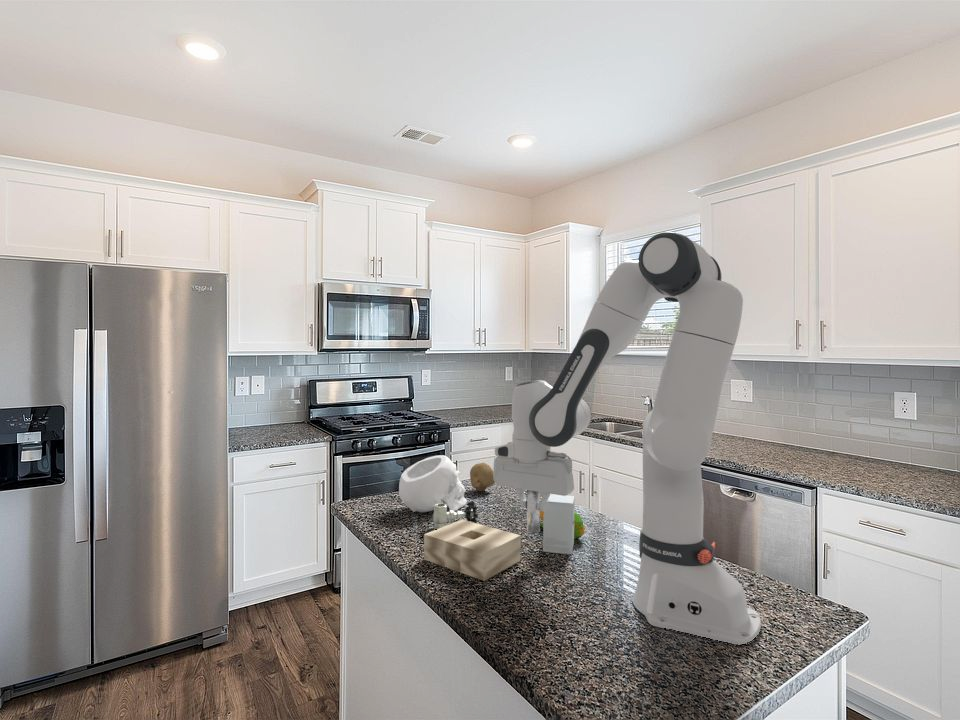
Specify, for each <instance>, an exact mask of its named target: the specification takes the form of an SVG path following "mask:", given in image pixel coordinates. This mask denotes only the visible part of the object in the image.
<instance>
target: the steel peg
mask: <svg viewBox="0 0 960 720" xmlns="http://www.w3.org/2000/svg"><path fill="white" fill-rule="evenodd" d="M526 498H527V508H526V532H527V533H529V534H539V533H540V532H541V525H540V522H541V518H540V511H538V510H537V506H536V503H538V502H540V501H541V499H540V498H541V496H540V492H537V491H531V490H526Z"/></svg>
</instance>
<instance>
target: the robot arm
mask: <svg viewBox="0 0 960 720" xmlns="http://www.w3.org/2000/svg"><path fill="white" fill-rule="evenodd" d="M661 299H664V300H665V301H666V302H672V303H673V302H675V303H678V305H679V313H678V317H677V321H676V323H675V327H674V329H673V334H672V337H671V340H670V344H669V346H668V349H667V353H666V356H665V359H664V363H663V365H662V366H663V367H662V370H661V374H660V377H659V382H658V387H657V392H656V394H655V395H656V396H655V399H654V403H653V408H652V409H651V410H650V411H649V412H648V414H647V415H646V417H645V418H644V420H643V424H642V526H641V527H642V529H640V531H639V540H638V541H639V543H638V544H639V545H638V551H639V558H640V565H639V571H638V578H637V583H636V587H635V590H634V593H633V597H632V603H633V605H634V607H635V608H636V610H638V611H639V612H640V613H641V614H642V615H644V617H645V619H646V620H647V621H646V622H648V623H649V624H650V625H651V626H653V627H656V628H661V629H664V628H666V630H669V629H673V630H678V631H681V632H686V633H690V634H694V635H697V636H696V637H698V636H701V637H700V638H702V637H706V638H710V639H713V640H712V641H715V640H718V641H717V642H719V641H724V642H728V643H732V644H738V645H740V644H744V643H747V642H750V641H752V640H753V639H754V638H755V637H756V636H757V635H758V636H759V634H760V633H761V632H760V631H761V630H760V629H762V624H761V617H760V615H759V614H758V612H757V611H756V610H754V609H752V608H749V607H748V603H747V602H748V601H747V597H746V596H747V595H746V593H745V589H744V588H743V586H742V584H741V583H740V582H739V581H738V580H737V579H736V578H734V577H733V576H732V575H731V574H730V573H729V572H728V571H727V570H726V569H724V568H723V567H722V566H721V565H720V564H719V563H718V562H717V561H716V560H714V558H715V550H716V542H715V541H713V542H712V543H710V542H709V541H708V540H707V539H706V538H705V537H704V506H705V505H704V504H705V503H704V500H705V499H704V490H703V478H702V463H703V462H704V461H705V459H707V456H708V453H709V451H710V446H711V443H712V437H713V433H714V428H715V424H716V420H717V415H718V411H719V406H720V400H721V399H720V398H721V394H722V393H721V392H722V390H723V389H722V388H723V384H724V382H725V378H726V374H727V371H728V368H729V365H730V363H731V359H732V355H733V352H734V349H735V346H736V342H737V338H738V335H739V330H740V326H741V322H742V321H741V320H742V314H743V306H744V305H743V303H744V299H743V295H742V292H741V291H740V290H739V289H738V288H737V287H735V286H734V285H733V284H731V283H728V282H727V281H722V272H721V268H720V266H719V264H718V261H717V260H716V259H715V258H714V257H713V256H711V255H710V254H709V253H708V252H707V251H706V249H705V248H704V247H703V246H702V245H700V244H699V243H697V242H695V241H694V240H692V239H690V238H689V237H688V236H687V235H684V234H682V233H679V232H674V231H664V232H660V233H657V234H655V235H654V236H652V237H650V238H649V239H648V240H647V241H646V242H645V243H644V244H643V246H642V248H640V251H639V255H638V260H633V259H632V260H631V259H630V260H625V261H623V262H620V263H619V265H617V267H616V268H615V269H614V271H613V272H612V273H611V275H610V276H609V278H608V279H607V280H606V282H605V284H604V285H603V287H602V289H601V290H600V292H599V294H598V295H597V298H596V301H595V302H594V304H593V306H592V308H591V311H590V312H589V315H588V317H587V319H586V322H585V325H584V327H583V329H582V331H581V333H580V336H579V337H578V340H577V342H576V345H575V347H574V348H573V349H572V352H571V354H570V355H569V357H568V359H567V361H566V363H564V367H562V369H561V372H560V374H559V375H558V376H557V378H556V381H555V382H554V384H553V386H552V385H551V384H549V383H548V382H547V381H546V380H543V379H536V380H530V381H526V382H525V381H524V382H520V383H518V384H517V385H516V386H515V387H514V389H513V392H512V397H511V398H512V400H511V421H512V424H513V432H512V436H511V438H512V439H511V440H512V441H509V442H507V443H505V444H501V445H498V446H497V447H495V448H494V455H495V458H494V460H493V466H492V467H493V469H492V470H493V478H494V481H495V483H494V484H496V485H497V486H501V487H505V488H514V489H515V493H516V496H517V497H518V499H519V501H520V502H519V503H520V504H519V505H520V508H523V509H527V495H526V493H525V492H527V490H531V491H537V492H540V498H541V499H540V502H538V503H536V506H537V510H538V511H545V509H546V502H547V500H548V498H549V496H550V494H553V495H562V496H566V495H568V496H569V495H570V494H572V493H573V492H574V490H575V483H574V475H573V474H574V473H573V460H572V458H571V457H570V456H568V455H567V454H566V452H565V453H564V452H556V451H551V447H552V448H554V447H561V446H563V445H565V444H566V443H568V442H569V441H570V440H572V439H573V438H576V437H577V436H579V435H580V434H582V433H583V432H585V431H586V430H587V428H589V426H590V425H591V423H592V422H591V421H592V411H591V408H590V405H589V404H588V402H587V401H586V400H585V399H584V396H585V394H586V391H587V390H588V388H589V386H590V385H591V383H592V382H593V380H594V377H595V376H596V374H597V373H598V372H599V370H600V369H601V368H602V366H604V364H605V363H607V362H608V361H609V360H610V359H612V358H613V357H615V356H617V355H618V354H620V353H622V352H623V351H625V350H626V349H627V348H628V347H629V345H630V344H631V343H632V342H633V340H634V339H635V338H636V336H637V335H638V333H639V332H640V330H641V328H642V326H643V324H644V322H645V321H646V319H647V316H648V314H649V313H650V311H651V308H652V307H653V306H654V305H655V304H656V303H657V302H658V301H660V300H661ZM673 630H672V631H673ZM681 632H680V633H681ZM759 632H760V633H759ZM690 634H689V635H690ZM694 635H693V636H694ZM758 636H757V637H758ZM757 637H756V638H757ZM706 638H705V639H706ZM710 639H709V640H710ZM753 641H754V640H753ZM753 641H752V642H753ZM750 643H751V642H750Z"/></svg>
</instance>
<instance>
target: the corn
mask: <svg viewBox="0 0 960 720" xmlns="http://www.w3.org/2000/svg"><path fill="white" fill-rule="evenodd" d="M543 517H544V511H540V527H541V528H543V523H542V522H543ZM541 520H542V522H541ZM585 531H586V526H585V524H584V522H583V519H582V517H581V515H580V514H579V513H577V512H576V511H574V540H575V539H576V540H577V539H580V538H581V537H582V536H583V535H584V534H585Z"/></svg>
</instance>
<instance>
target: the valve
mask: <svg viewBox="0 0 960 720" xmlns="http://www.w3.org/2000/svg"><path fill="white" fill-rule="evenodd" d="M466 505H467V506H466V507H465V509H464V511H462V510H461V511H460V510H459V511H458V510H457V511H453V510H450V509H448V506H447V504H446V503H439V504H435V505H434V510H433V515H432V520H433V522H434V523H433V530H435V529H439V528H442V527H444V526H447V525H448V522H454V521H455V519H462V518H463V517H464V518H465V520H466V521H470V522H473V523H477V524H478V521H477V519H478V518H479V515H478V513H477V512H476V511H477V510H478V507H477V506H476V505H475V501H469V502H466Z"/></svg>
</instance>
